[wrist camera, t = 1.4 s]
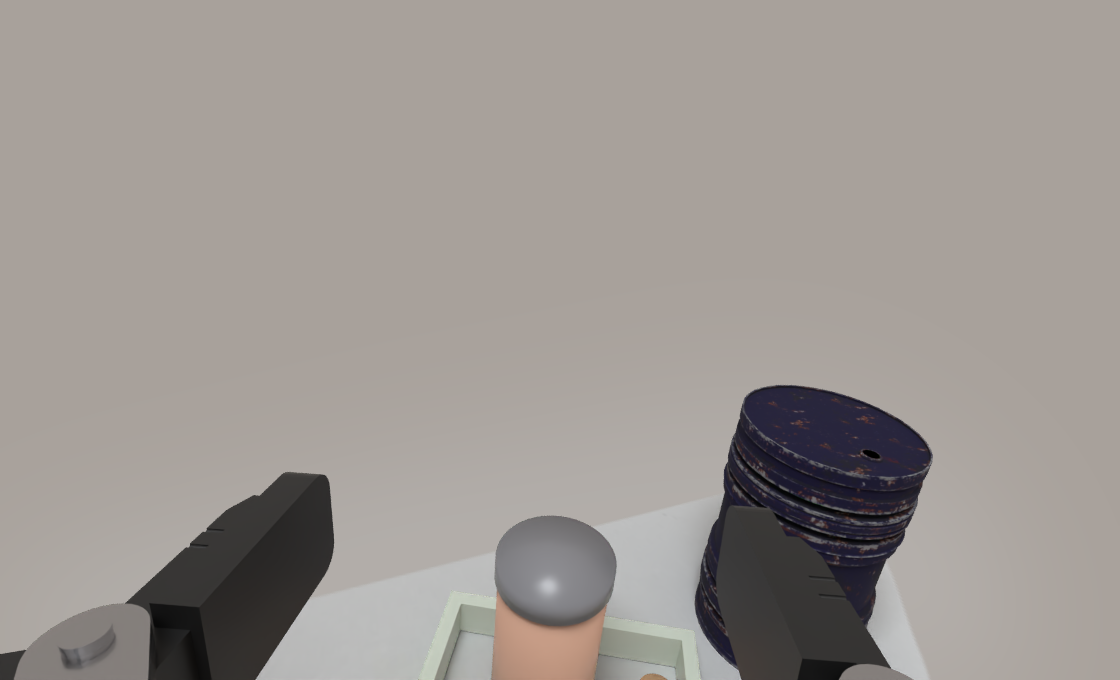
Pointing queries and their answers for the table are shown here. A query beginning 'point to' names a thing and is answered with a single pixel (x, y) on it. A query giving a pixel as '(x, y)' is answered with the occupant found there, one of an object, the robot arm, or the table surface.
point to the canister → (550, 599)
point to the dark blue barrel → (819, 488)
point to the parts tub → (615, 641)
